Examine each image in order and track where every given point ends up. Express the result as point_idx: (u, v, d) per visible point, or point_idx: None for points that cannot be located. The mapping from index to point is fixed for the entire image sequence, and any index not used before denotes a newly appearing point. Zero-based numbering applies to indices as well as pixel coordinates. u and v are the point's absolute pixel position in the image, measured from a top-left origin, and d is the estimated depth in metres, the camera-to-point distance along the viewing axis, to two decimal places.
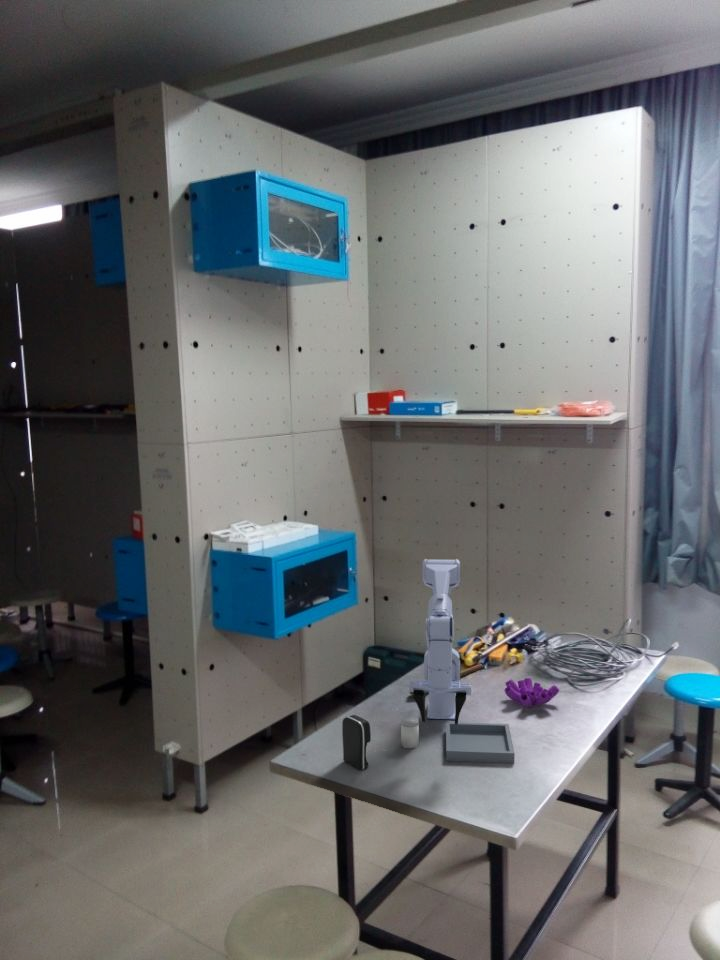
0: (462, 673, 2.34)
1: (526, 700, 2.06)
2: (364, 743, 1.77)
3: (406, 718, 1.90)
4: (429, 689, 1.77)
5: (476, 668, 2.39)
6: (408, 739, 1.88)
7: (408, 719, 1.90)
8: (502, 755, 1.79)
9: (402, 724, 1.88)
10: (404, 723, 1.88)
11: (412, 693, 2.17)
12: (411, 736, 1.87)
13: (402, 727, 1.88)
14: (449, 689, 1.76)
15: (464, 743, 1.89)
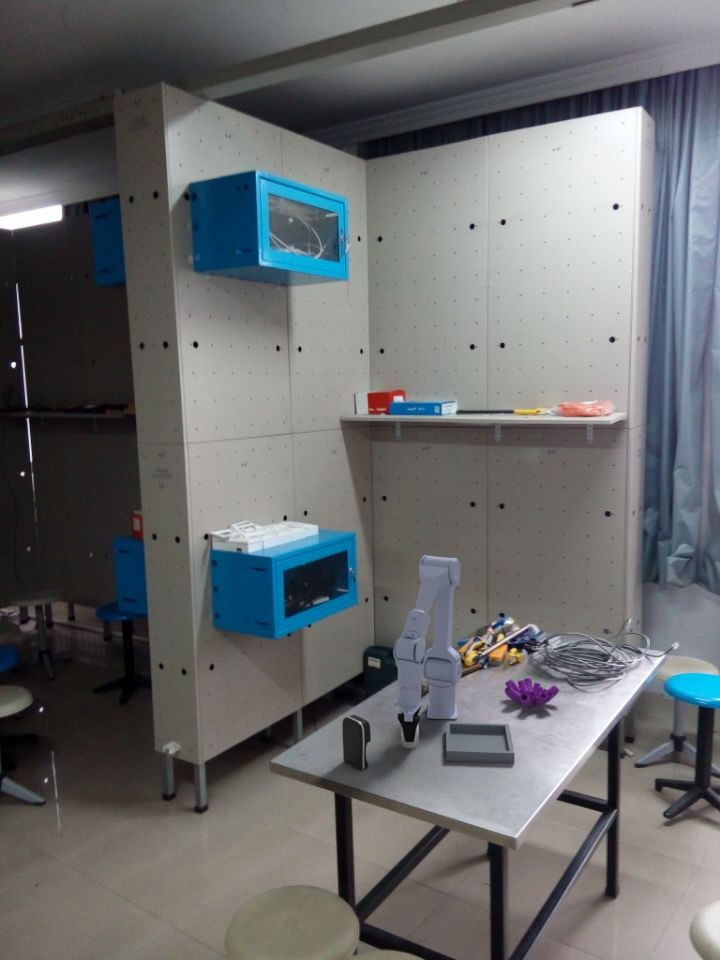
0: None
1: (526, 700, 2.06)
2: (364, 743, 1.77)
3: None
4: None
5: (476, 668, 2.39)
6: None
7: None
8: (502, 755, 1.79)
9: None
10: None
11: None
12: None
13: None
14: (399, 706, 1.87)
15: (464, 743, 1.89)
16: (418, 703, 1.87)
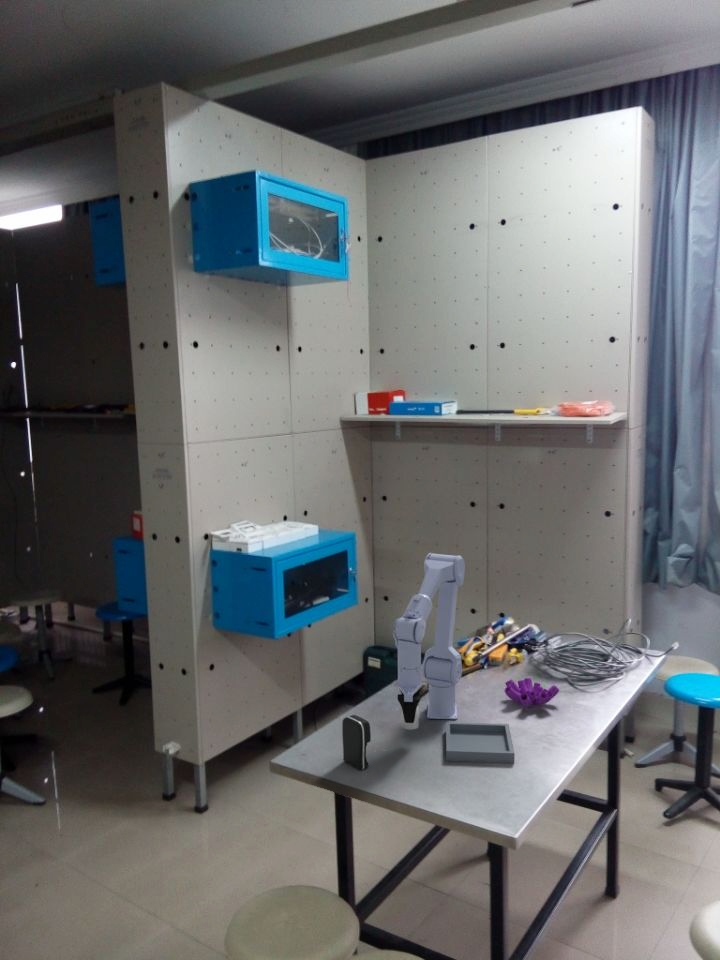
0: None
1: (526, 700, 2.06)
2: (364, 743, 1.77)
3: None
4: None
5: (475, 667, 2.39)
6: None
7: None
8: (502, 755, 1.79)
9: None
10: None
11: None
12: None
13: None
14: (399, 686, 1.86)
15: (464, 743, 1.89)
16: (418, 684, 1.86)
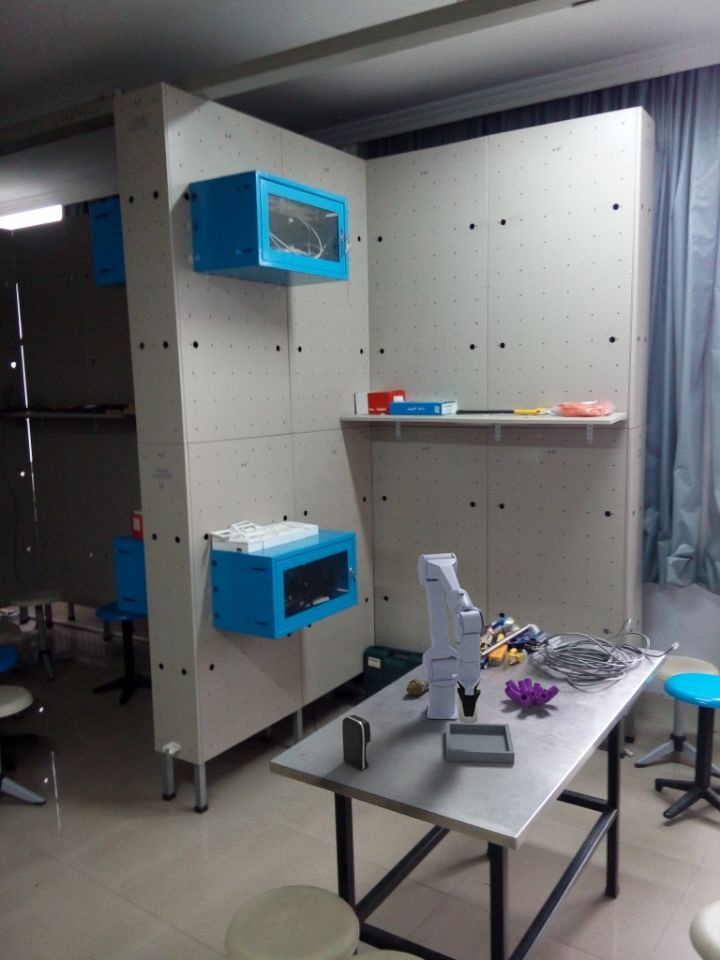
0: None
1: (526, 700, 2.06)
2: (364, 743, 1.77)
3: None
4: None
5: None
6: None
7: None
8: (502, 755, 1.79)
9: None
10: None
11: (409, 691, 2.19)
12: None
13: (460, 702, 1.86)
14: (459, 680, 1.84)
15: (464, 743, 1.89)
16: (478, 677, 1.84)
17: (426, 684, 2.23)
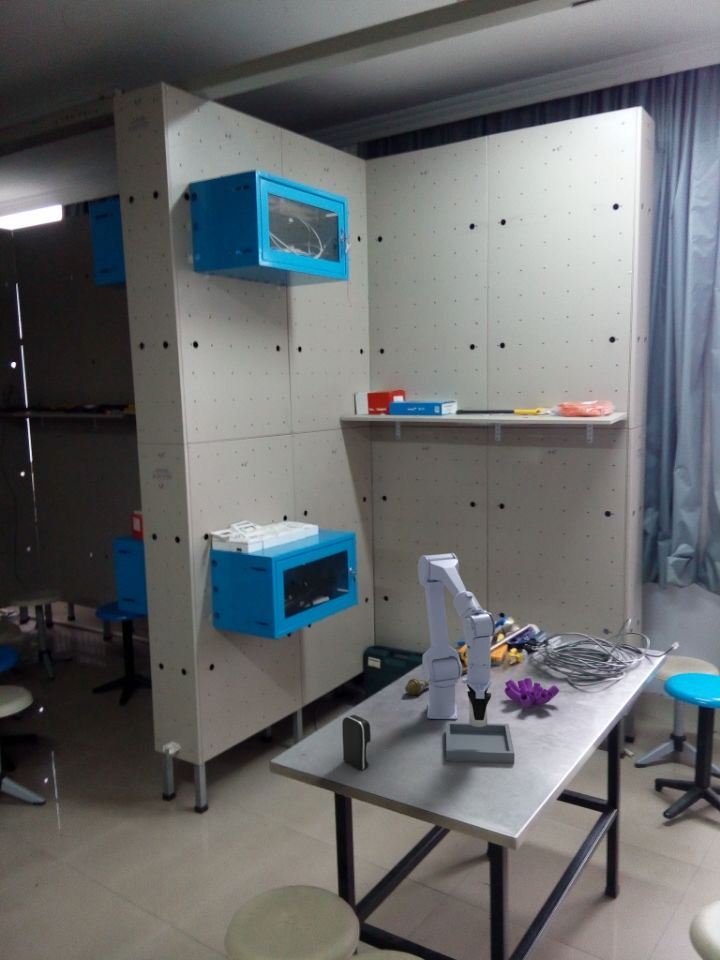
0: None
1: (526, 700, 2.06)
2: (364, 743, 1.77)
3: None
4: None
5: None
6: None
7: None
8: (502, 755, 1.79)
9: (470, 702, 1.86)
10: None
11: (408, 690, 2.19)
12: None
13: (470, 705, 1.86)
14: (469, 683, 1.84)
15: (464, 743, 1.89)
16: (488, 681, 1.84)
17: (425, 683, 2.23)
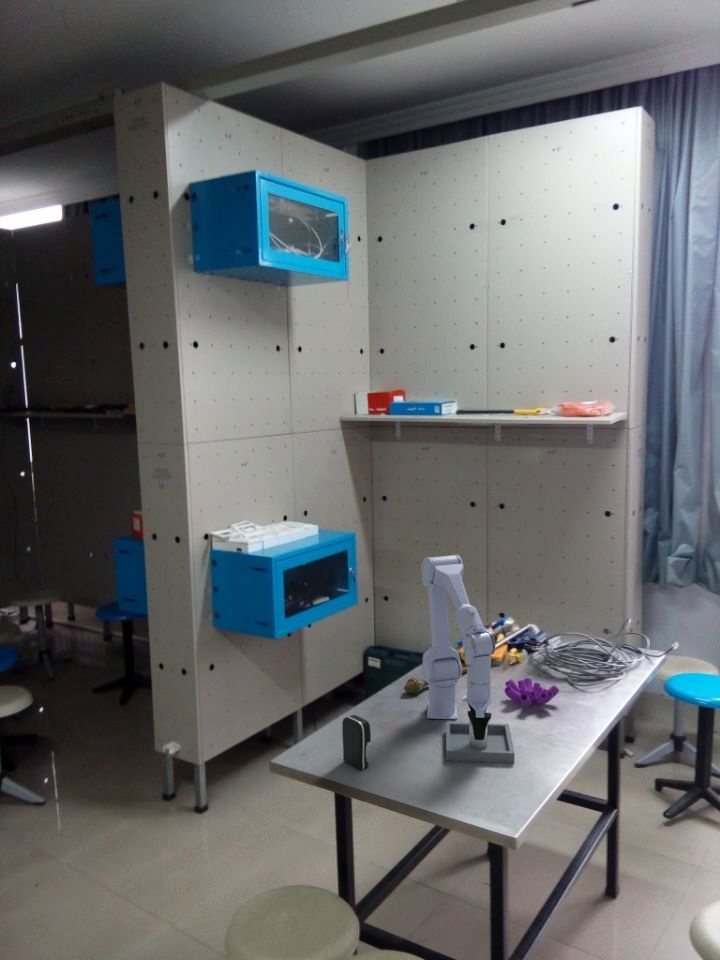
0: None
1: (526, 700, 2.06)
2: (364, 743, 1.77)
3: None
4: None
5: None
6: None
7: None
8: (502, 755, 1.79)
9: (471, 724, 1.86)
10: None
11: (406, 690, 2.20)
12: None
13: (471, 727, 1.87)
14: (469, 702, 1.85)
15: (464, 743, 1.89)
16: (488, 699, 1.85)
17: (424, 683, 2.24)
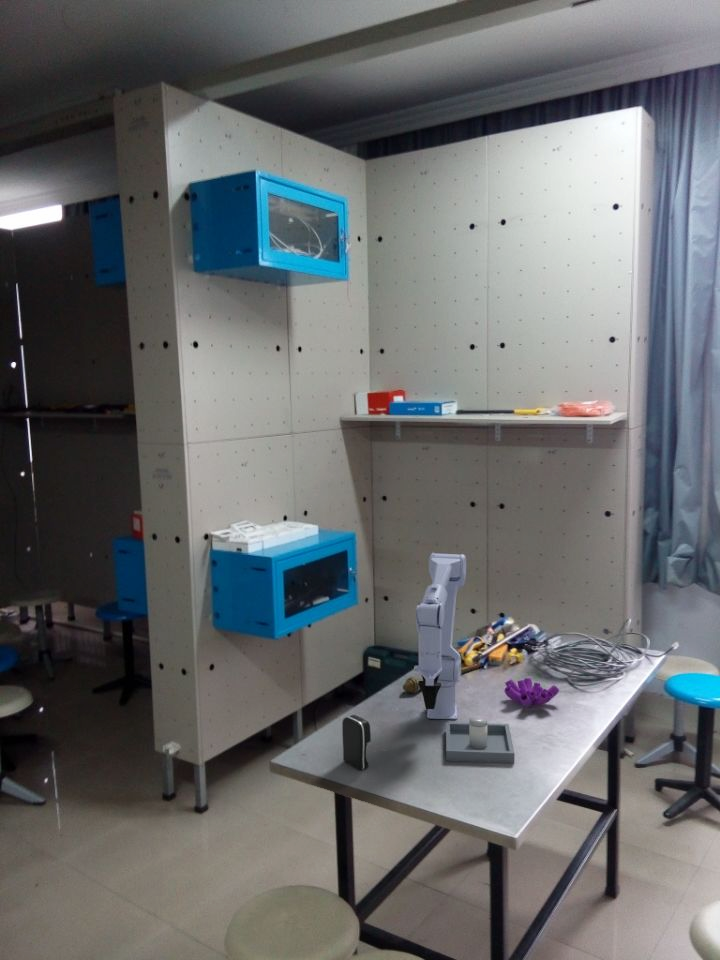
0: None
1: (526, 700, 2.06)
2: (364, 743, 1.77)
3: (474, 718, 1.88)
4: None
5: (475, 667, 2.40)
6: (477, 739, 1.86)
7: (477, 719, 1.88)
8: (502, 755, 1.79)
9: (471, 724, 1.86)
10: (473, 723, 1.86)
11: (405, 689, 2.20)
12: (480, 736, 1.86)
13: (471, 727, 1.87)
14: (420, 671, 1.89)
15: (464, 743, 1.89)
16: (438, 668, 1.89)
17: None
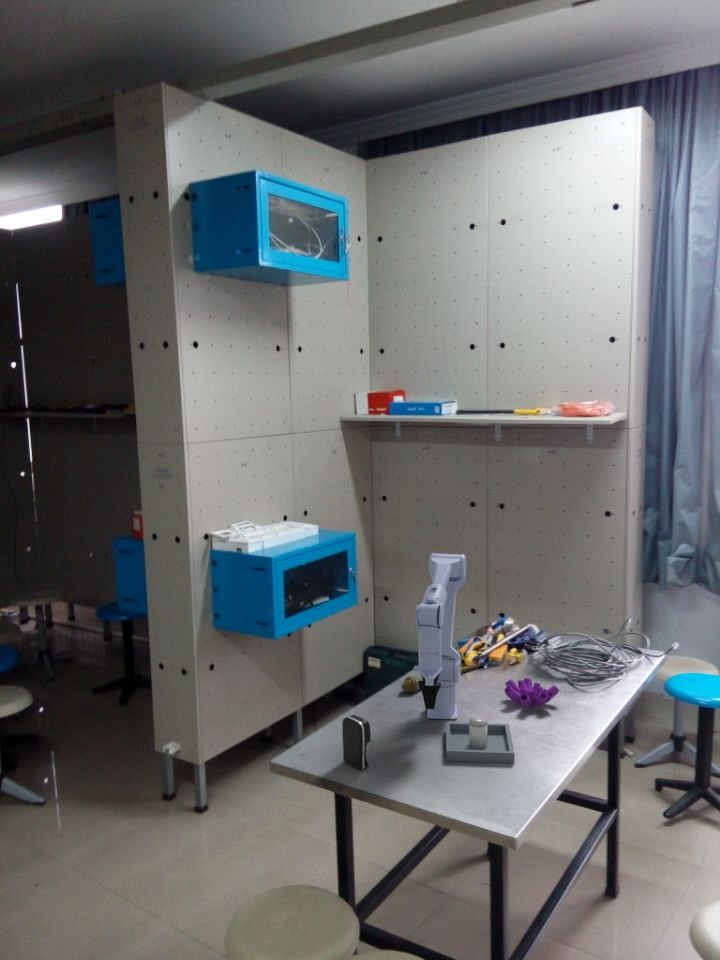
0: None
1: (526, 700, 2.06)
2: (364, 743, 1.77)
3: (474, 718, 1.88)
4: None
5: (475, 666, 2.40)
6: (477, 739, 1.86)
7: (476, 719, 1.88)
8: (502, 755, 1.79)
9: (471, 724, 1.86)
10: (473, 723, 1.86)
11: (404, 688, 2.21)
12: (480, 736, 1.86)
13: (471, 727, 1.87)
14: (420, 671, 1.89)
15: (464, 743, 1.89)
16: (438, 668, 1.89)
17: None
